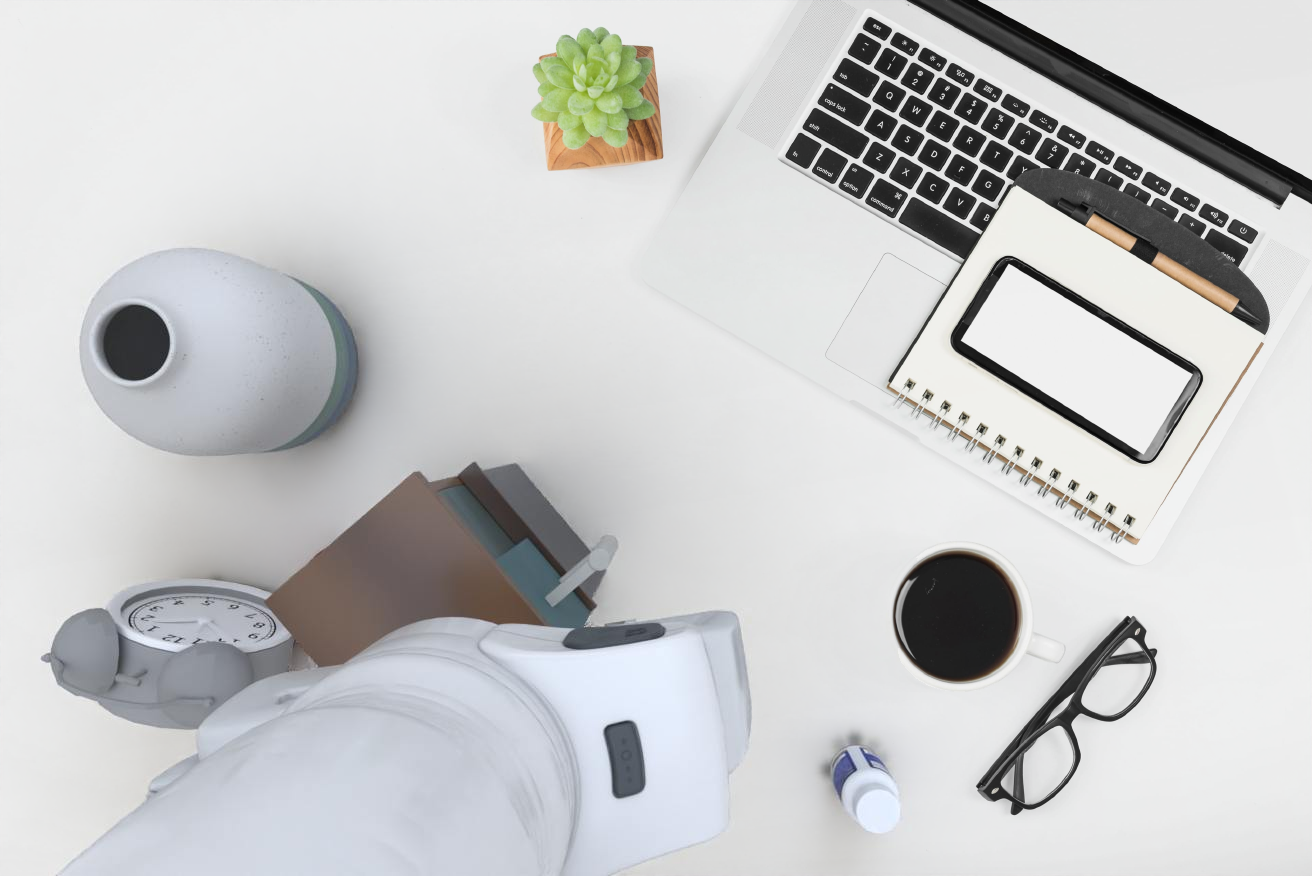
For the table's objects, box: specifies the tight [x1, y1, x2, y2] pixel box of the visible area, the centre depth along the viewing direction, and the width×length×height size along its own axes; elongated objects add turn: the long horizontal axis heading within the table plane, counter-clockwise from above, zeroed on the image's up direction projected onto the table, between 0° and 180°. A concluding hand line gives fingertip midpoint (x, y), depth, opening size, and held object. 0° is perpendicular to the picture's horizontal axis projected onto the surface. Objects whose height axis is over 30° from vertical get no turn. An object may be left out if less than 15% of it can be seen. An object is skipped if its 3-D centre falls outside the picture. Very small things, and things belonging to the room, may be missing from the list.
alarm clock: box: [40, 578, 295, 731], centre depth 72 cm, size 16×9×22 cm, turn 75°
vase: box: [79, 247, 360, 457], centre depth 71 cm, size 17×17×24 cm
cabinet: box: [264, 461, 607, 668], centre depth 65 cm, size 12×14×35 cm
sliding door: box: [496, 534, 619, 629], centre depth 54 cm, size 6×7×12 cm
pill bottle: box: [829, 744, 902, 835], centre depth 77 cm, size 5×5×9 cm
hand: (525, 651), depth 39 cm, fingers open, 8 cm apart
